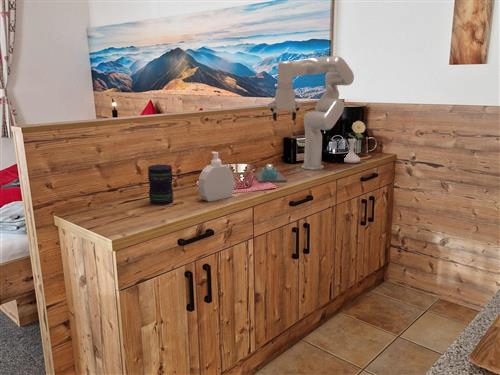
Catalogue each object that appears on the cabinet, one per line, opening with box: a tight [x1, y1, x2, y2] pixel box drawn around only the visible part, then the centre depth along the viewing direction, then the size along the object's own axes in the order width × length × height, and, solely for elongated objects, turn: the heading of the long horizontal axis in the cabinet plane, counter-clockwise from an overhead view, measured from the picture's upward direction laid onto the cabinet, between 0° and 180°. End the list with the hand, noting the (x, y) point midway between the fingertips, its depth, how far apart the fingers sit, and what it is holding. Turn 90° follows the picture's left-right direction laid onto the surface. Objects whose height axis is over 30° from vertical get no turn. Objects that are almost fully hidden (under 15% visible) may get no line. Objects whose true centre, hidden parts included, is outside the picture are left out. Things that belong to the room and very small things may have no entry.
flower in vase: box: [344, 120, 367, 164], centre depth 275 cm, size 13×11×25 cm
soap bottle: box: [197, 151, 235, 202], centre depth 197 cm, size 16×5×20 cm, turn 130°
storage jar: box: [147, 164, 174, 206], centre depth 191 cm, size 10×10×15 cm
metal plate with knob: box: [254, 163, 288, 184], centre depth 236 cm, size 20×14×7 cm
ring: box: [261, 166, 278, 178], centre depth 236 cm, size 7×7×4 cm
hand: (284, 120), depth 239 cm, fingers open, 9 cm apart
